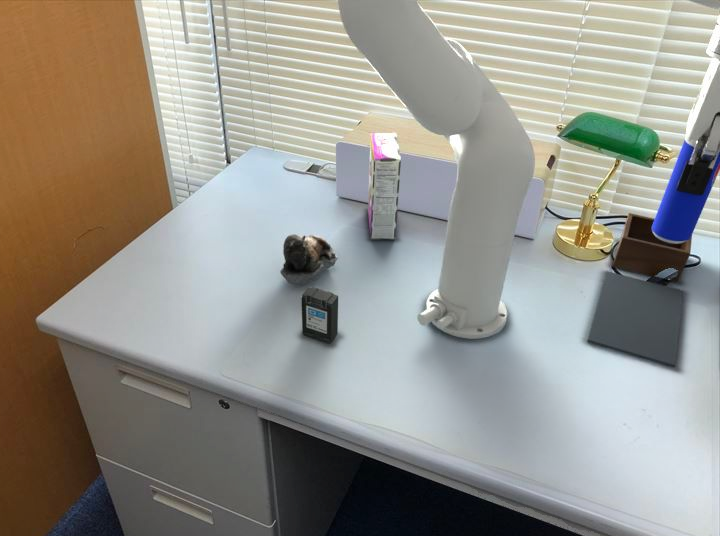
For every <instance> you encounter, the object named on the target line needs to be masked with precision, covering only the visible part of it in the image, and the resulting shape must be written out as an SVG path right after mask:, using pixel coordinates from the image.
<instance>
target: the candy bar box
mask: <svg viewBox="0 0 720 536" xmlns="http://www.w3.org/2000/svg"><path fill="white" fill-rule="evenodd" d="M397 135H398V134H397V133H396V132H372V133H370V142H369V143H370V145H369V171H368V172H369V173H368V197H367V198H368V199H367V200H368V202H367V214H368V224H369V226H368V227H369V233H370V234H369V237H370V240H375V241H376V240H396V237H397V236H396V235H397V223H398V222H397V220H398V207H399V193H400V183H401V181H400V178H401V165H402V157H401V151H400V145H399V140H398V136H397Z"/></svg>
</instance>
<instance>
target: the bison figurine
mask: <svg viewBox="0 0 720 536" xmlns="http://www.w3.org/2000/svg"><path fill="white" fill-rule="evenodd" d="M282 249H283V251H282V254H283V257H284V263H283V267H282V268H281V270H280V273H279V274H280V275H281V277H283V278H284V279H285V281H286V282H287V284H288V285H290V286H293V287H300V286H301V287H302V286H305V285H308V284H309V283H311V282H314V281H316V280H317V279H318V278H319V276H320V274H321V273H322V272H324V271H325V270H328V269H330V268H331V267H334V266H335V264H336V262H337V261H338V260H339V256H338V255H337V254H336V252H334V250H333V248H332V246H331V244H330V243H328V242H327V241H326V240H325V239H324V237H322V236H319V235H315V234H310V235H307V236H306V235H300V234H295V233H294V234H289V235H288V236H286V237H285V240H284V241H283V248H282Z"/></svg>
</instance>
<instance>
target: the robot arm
mask: <svg viewBox="0 0 720 536" xmlns="http://www.w3.org/2000/svg"><path fill="white" fill-rule="evenodd" d="M686 2H690V3H693V4H697V5H699V6H700V5H701V6H703V7H706V8H709V9H714V10H720V0H686ZM337 4H338V10H339V17H340V19H341V22H342V25H343V28H344V30H345V33H346V34H347V36H348V38H349V39H350V41H351V42H352V44H353V45H354V47H355V48H356V49H357V50H358V52H359V53H360V54H361V56H362V57H363V58H364V59H365V61H367V62H368V63H369V65H370V66H371V67H372V69H373V70H374V71H375V72H376V73H377V75H378V76H379V77H380V78H381V80H382V81H383V82H384V84H385V85H386V86H387V87H388V88H389V89H390V90H391V92H392V93H393V94H394V95H395V96H396V98H397V99H398V100H399V101H400V102H401V103H402V105H403V106H404V107H405V108H406V109H407V111H408V112H409V113H410V115H411V116H412V117H413V119H414V120H415V121H416V122H417V123H418V124H419V125H420V126H421V127H422V128H423V129H425V130H427V132H430V133H433V134H434V135H438V136H443V137H444V138H445V139H446V140H447V142H448V144H450V146H451V148H452V151H453V155H454V159H455V162H456V168H457V172H456V173H457V174H456V181H455V187H454V189H453V192H452V197H451V200H450V206H449V210H448V217H447V222H446V223H447V224H446V233H445V240H444V247H443V253H442V260H441V267H440V275H439V281H438V288H437V289H435V290H434V291H432V293H431V294H429V296H428V297H427V299H426V302H425V309H424V310H423V311H422V312H421V313H419V314H418V315H417V316H416V319H417V322H418V323H419V325H421V326H423V327H425V326H427V325H429V324H432V325H433V326H434V327H436V328H437V329H439V330H440V331H442V332H443V333H445V334H448V335H451V336H453V337H457V338H462V339H470V340H471V339H472V340H475V339H484V338H488V337H491V336H494V335H496V334H498V333H500V331H502V329H503V328H504V327H505V325H506V323H507V319H508V309H507V306H506V305H505V303H504V301H503V300H502V295H503V290H504V285H505V282H506V276H507V272H508V267H509V264H510V260H511V259H510V258H511V254H512V250H513V246H514V240H515V235H516V231H517V226H518V222H519V218H520V214H521V210H522V207H523V203H524V201H525V199H526V196H527V193H528V191H529V189H530V186H531V183H532V180H533V178H534V174H535V170H536V155H535V151H534V146H533V144H532V141H531V139H530V137H529V135H528V133H527V131H526V129H525V128H524V126H523V125H522V123H521V122H520V120H519V119H518V116H517V115H516V113H515V112H514V110H513V108H512V107H511V105H510V104H509V103H508V101H506V99H505V98H504V96H503V95H502V94H501V93H500V91H499V90H498V88H496V86H495V85H494V84H493V83H492V81H491V80H490V79H489V77H488V76H487V75H486V74H485V72H484V71H483V70H482V69H481V67H480V66H479V65H478V63H477V62H476V61H475V59H474V58H473V57H472V56H471V54H470V53H469V52H468V51H467V50H466V49H465V47H464V46H462V44H460V43H459V42H457V41H456V40H453V39H452V38H448V37H445V36H444V35H443V33H441V31H440V30H439V29H438V27H437V26H436V24H435V23H434V20H432V18H431V17H430V16H429V15H428V13H427V12H426V11H425V10H424V9H423V8H422V6H421V5H420V4H419V1H418V0H337ZM705 53H706V54H707V55H709V56H710V57H711V58H712V59H711V61H710V62H709V65H708V68H707V70H706V72H705V75H704V77H703V79H702V83H701V85H700V87H699V90H698V93H697V96H696V98H695V101H694V103H693V105H692V107H691V111H690V112H689V114H688V118H687V123H686V129H685V130H686V131H685V138H686V139H687V140H688V141H690V142H691V140H696V144H695V147H694V150H693V153H692V155H691V158H690V161H689V162H686V165H685V167H684V170H683V172H682V175H681V178H680V180H679V183H678V185H677V191H679V192H684V193H689V194H694V195H699V196H701V195H703V194H704V192H705V189H706V187H707V184H708V182H709V180H710V177H711V175H712V173H713V170H714V165H715V162H716V159H717V157H718V154H719V151H720V14H719V15H718V18H717V20H716V23H715V25H714V29H713V31H712V34H711V37H710V39H709V41H708V45H707V48H706V51H705ZM703 136H708V139H707V141H705V140H701V139H702V137H703ZM700 146H705V147H704V149H703V150H700V151H699V149H700Z"/></svg>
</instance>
